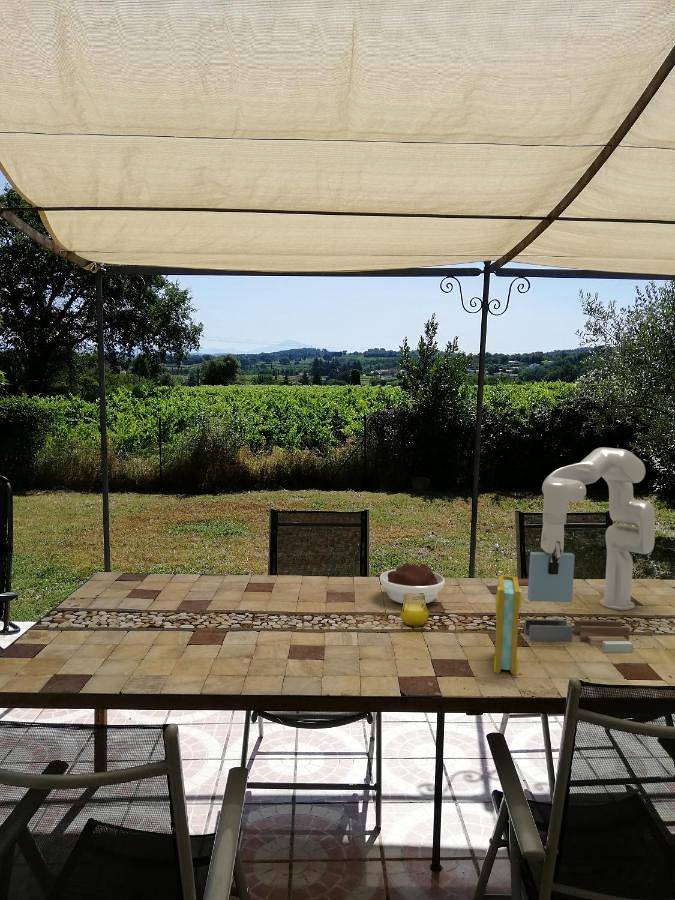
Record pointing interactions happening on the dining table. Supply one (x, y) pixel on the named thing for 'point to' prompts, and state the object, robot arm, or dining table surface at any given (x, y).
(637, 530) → the robot arm
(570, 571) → the tall sheet
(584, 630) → the walnut rack
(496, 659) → the book
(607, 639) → the offcut lower
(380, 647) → the dining table surface
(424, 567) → the bowl of chocolate mousse
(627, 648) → the offcut upper
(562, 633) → the grey rack
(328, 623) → the dining table surface
